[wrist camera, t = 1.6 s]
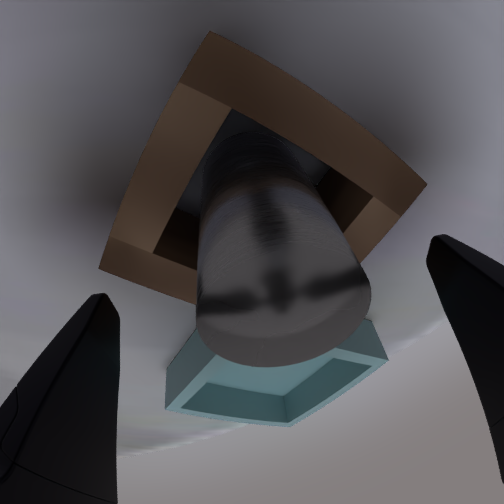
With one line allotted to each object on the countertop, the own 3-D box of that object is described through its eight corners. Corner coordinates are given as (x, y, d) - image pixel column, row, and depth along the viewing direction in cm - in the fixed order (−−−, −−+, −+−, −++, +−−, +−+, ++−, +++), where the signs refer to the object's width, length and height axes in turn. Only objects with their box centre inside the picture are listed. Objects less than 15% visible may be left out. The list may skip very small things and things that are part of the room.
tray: (238, 271, 16) (244, 322, 13) (371, 321, 20) (388, 360, 17) (166, 369, 21) (164, 409, 18) (283, 393, 25) (290, 426, 22)
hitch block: (211, 36, 9) (209, 30, 6) (384, 149, 12) (427, 184, 10) (119, 217, 13) (98, 268, 10) (277, 281, 16) (290, 334, 14)
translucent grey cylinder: (233, 114, 11) (259, 213, 5) (316, 162, 13) (402, 286, 7) (186, 196, 13) (169, 345, 7) (265, 232, 14) (300, 376, 9)
